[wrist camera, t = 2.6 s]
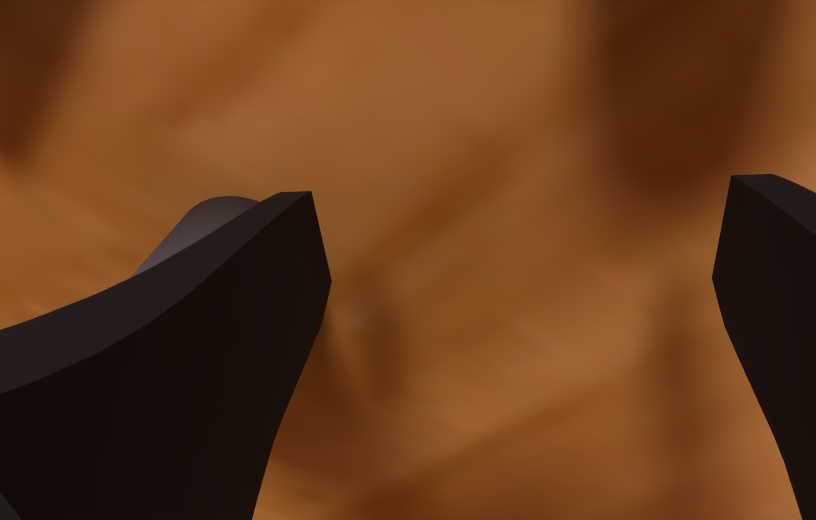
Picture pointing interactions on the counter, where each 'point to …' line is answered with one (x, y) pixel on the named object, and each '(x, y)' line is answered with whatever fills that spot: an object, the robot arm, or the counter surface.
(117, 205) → the counter surface
